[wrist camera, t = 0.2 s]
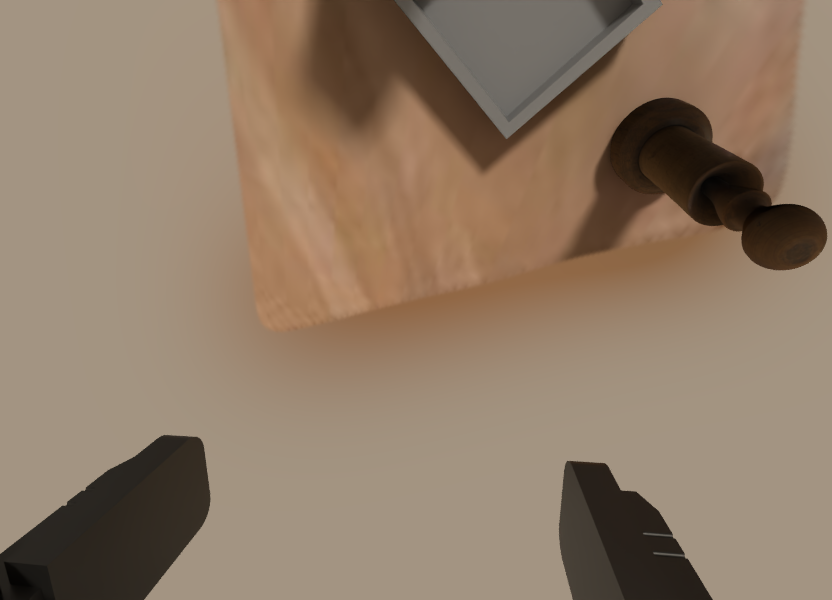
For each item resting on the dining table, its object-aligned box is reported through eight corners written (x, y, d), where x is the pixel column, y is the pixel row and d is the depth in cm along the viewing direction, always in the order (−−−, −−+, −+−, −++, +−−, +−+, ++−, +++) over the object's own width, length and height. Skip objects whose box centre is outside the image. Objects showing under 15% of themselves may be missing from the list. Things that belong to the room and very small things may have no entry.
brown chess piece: (697, 173, 35) (870, 298, 20) (612, 193, 36) (714, 324, 22) (701, 85, 31) (913, 158, 17) (606, 112, 33) (723, 200, 18)
